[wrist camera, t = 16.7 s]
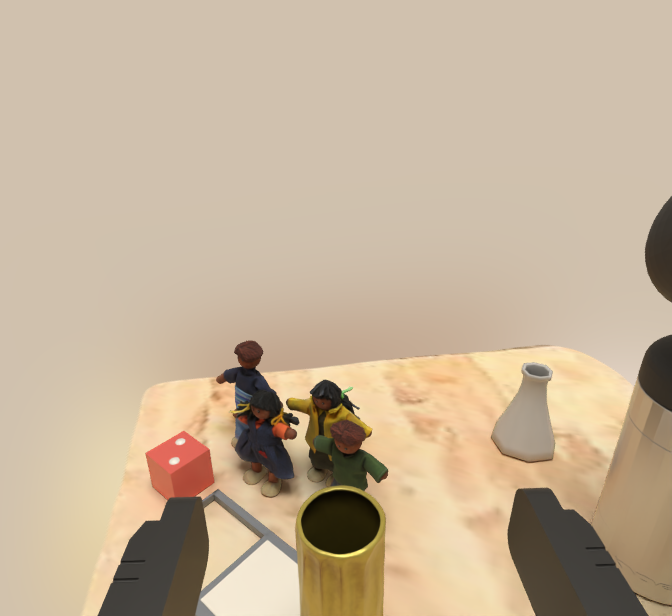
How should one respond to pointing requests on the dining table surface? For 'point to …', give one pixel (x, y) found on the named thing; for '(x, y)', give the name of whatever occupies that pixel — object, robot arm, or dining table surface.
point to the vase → (341, 553)
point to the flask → (527, 418)
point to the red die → (180, 467)
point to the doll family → (274, 425)
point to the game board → (253, 575)
